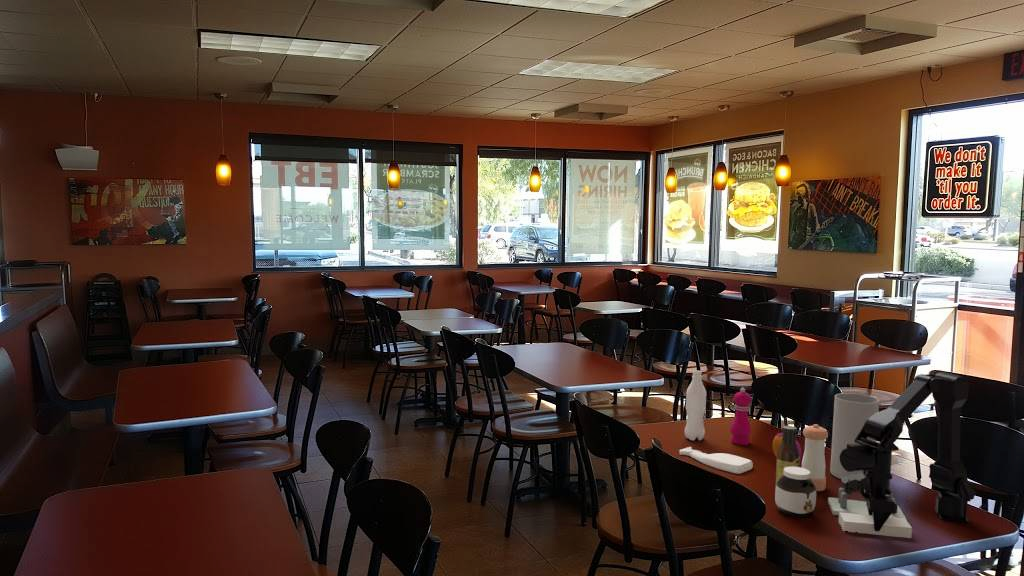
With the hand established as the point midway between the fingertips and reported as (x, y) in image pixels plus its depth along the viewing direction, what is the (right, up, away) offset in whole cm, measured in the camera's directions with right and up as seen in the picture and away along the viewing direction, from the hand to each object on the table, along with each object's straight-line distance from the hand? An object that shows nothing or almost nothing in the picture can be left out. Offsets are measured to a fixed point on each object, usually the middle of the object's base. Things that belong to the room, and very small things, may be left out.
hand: (874, 525), depth 190 cm
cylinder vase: (+13, +2, +40) cm, 42 cm away
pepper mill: (-12, +6, +73) cm, 74 cm away
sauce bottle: (-14, +1, +24) cm, 28 cm away
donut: (-4, +4, +51) cm, 51 cm away
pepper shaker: (-4, +2, +30) cm, 30 cm away
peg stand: (+3, 0, +12) cm, 12 cm away
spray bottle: (-27, +4, +52) cm, 59 cm away
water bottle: (-28, +7, +77) cm, 82 cm away
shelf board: (0, -1, 0) cm, 1 cm away
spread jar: (-16, 0, +13) cm, 21 cm away
